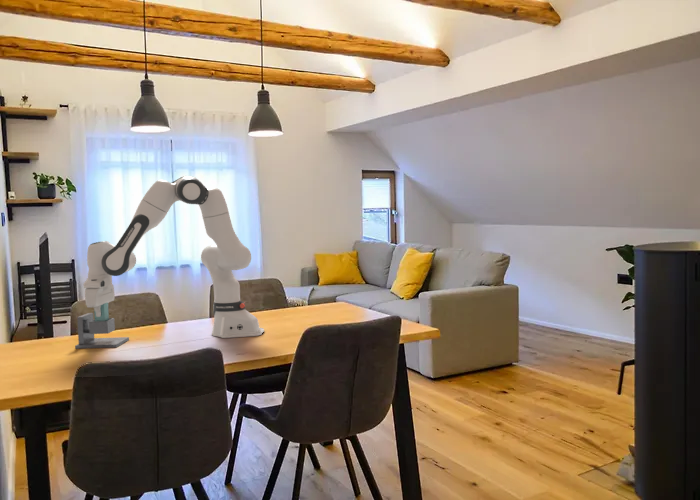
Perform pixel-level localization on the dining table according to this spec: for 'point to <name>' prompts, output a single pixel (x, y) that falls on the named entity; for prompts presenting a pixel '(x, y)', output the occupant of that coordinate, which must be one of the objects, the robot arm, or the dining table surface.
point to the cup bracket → (91, 327)
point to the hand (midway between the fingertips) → (101, 315)
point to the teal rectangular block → (103, 313)
